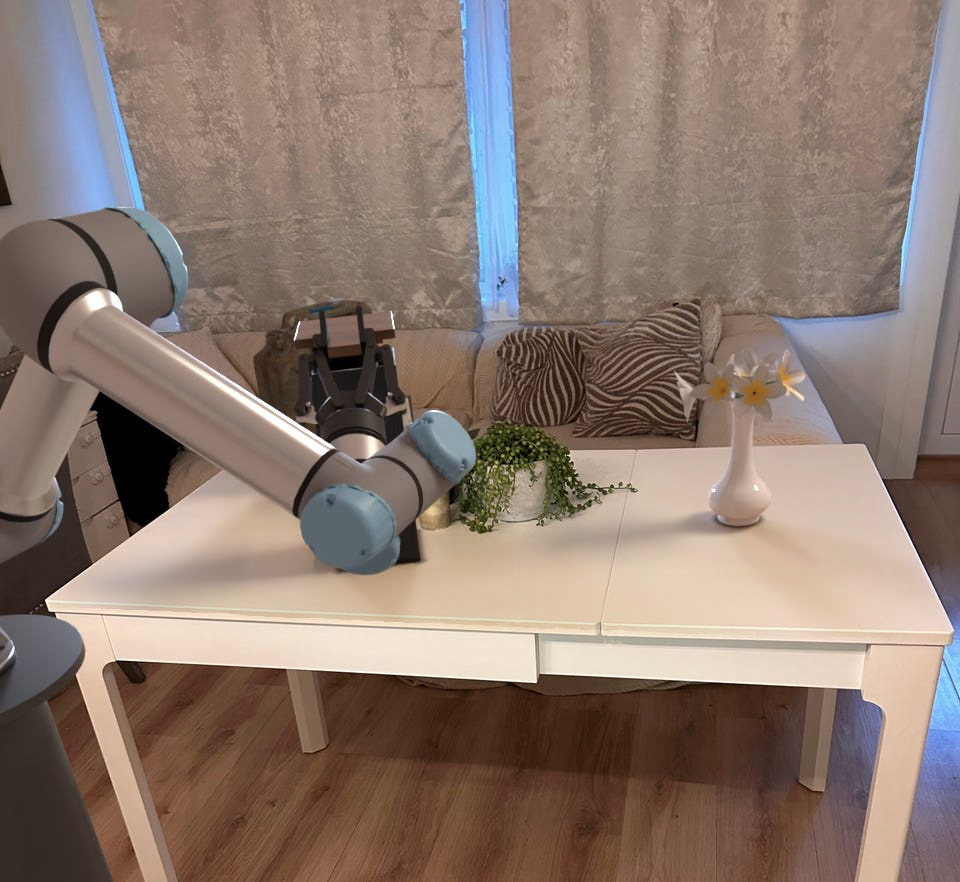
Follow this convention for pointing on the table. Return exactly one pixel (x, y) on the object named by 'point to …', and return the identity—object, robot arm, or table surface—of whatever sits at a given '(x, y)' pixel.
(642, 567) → the table surface
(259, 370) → the container
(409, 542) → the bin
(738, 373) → the flower vase
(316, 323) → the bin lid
